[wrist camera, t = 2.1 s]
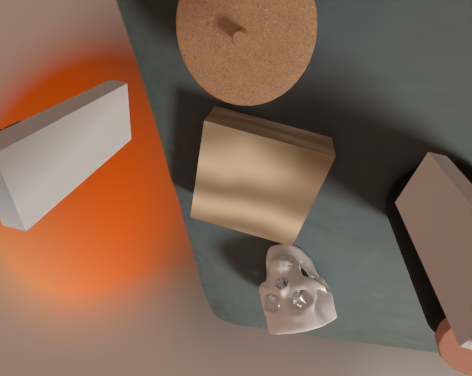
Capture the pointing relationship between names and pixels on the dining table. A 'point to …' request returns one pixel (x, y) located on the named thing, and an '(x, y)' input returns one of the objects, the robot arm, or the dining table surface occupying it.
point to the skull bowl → (294, 293)
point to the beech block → (258, 174)
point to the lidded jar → (246, 46)
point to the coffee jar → (428, 281)
